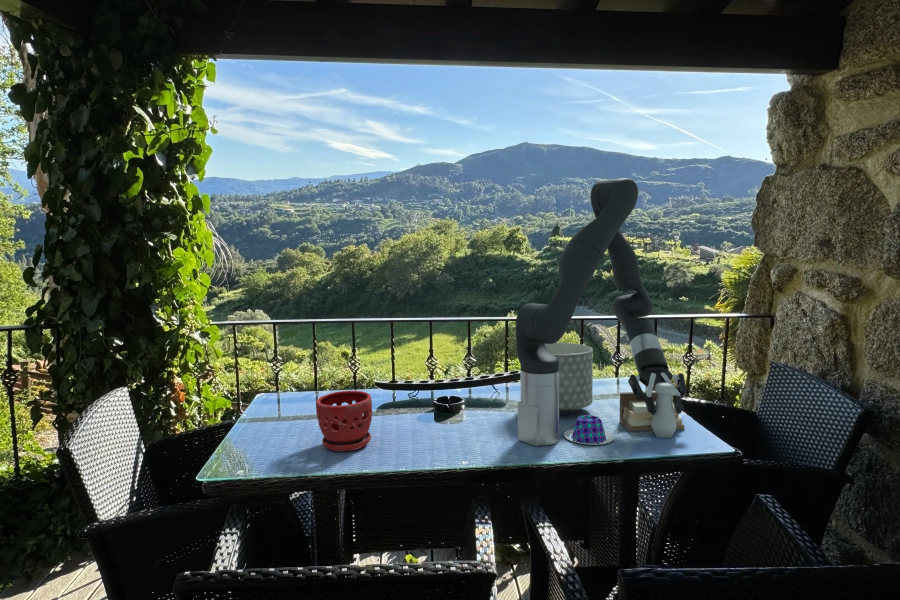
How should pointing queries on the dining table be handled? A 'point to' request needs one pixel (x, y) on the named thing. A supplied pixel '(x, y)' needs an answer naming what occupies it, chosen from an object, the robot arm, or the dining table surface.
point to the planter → (573, 375)
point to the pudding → (589, 431)
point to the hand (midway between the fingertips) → (667, 412)
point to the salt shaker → (664, 411)
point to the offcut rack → (640, 413)
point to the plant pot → (345, 419)
